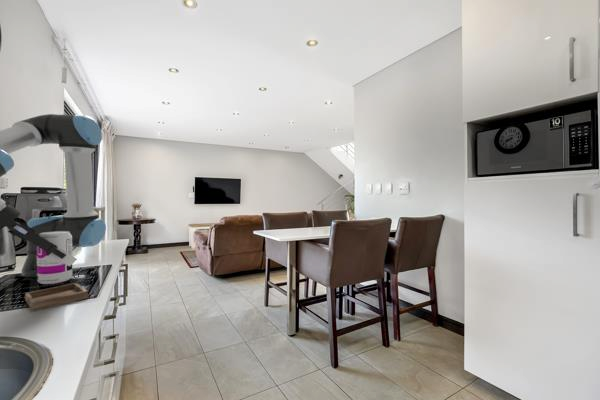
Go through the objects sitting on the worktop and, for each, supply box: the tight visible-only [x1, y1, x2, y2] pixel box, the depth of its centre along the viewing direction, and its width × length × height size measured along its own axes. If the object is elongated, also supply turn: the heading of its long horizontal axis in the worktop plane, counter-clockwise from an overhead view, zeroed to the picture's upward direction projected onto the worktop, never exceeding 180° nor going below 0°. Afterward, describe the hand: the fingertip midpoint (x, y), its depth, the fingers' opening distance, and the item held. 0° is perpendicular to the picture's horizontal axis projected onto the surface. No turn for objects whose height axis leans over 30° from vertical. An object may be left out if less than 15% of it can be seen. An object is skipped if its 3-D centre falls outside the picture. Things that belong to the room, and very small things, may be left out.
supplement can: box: [36, 231, 73, 285], centre depth 85 cm, size 8×8×15 cm
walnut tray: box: [24, 282, 89, 312], centre depth 85 cm, size 13×13×2 cm
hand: (69, 260), depth 87 cm, fingers closed on supplement can, 8 cm apart
